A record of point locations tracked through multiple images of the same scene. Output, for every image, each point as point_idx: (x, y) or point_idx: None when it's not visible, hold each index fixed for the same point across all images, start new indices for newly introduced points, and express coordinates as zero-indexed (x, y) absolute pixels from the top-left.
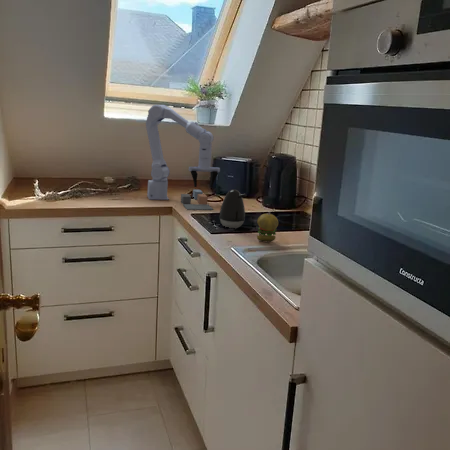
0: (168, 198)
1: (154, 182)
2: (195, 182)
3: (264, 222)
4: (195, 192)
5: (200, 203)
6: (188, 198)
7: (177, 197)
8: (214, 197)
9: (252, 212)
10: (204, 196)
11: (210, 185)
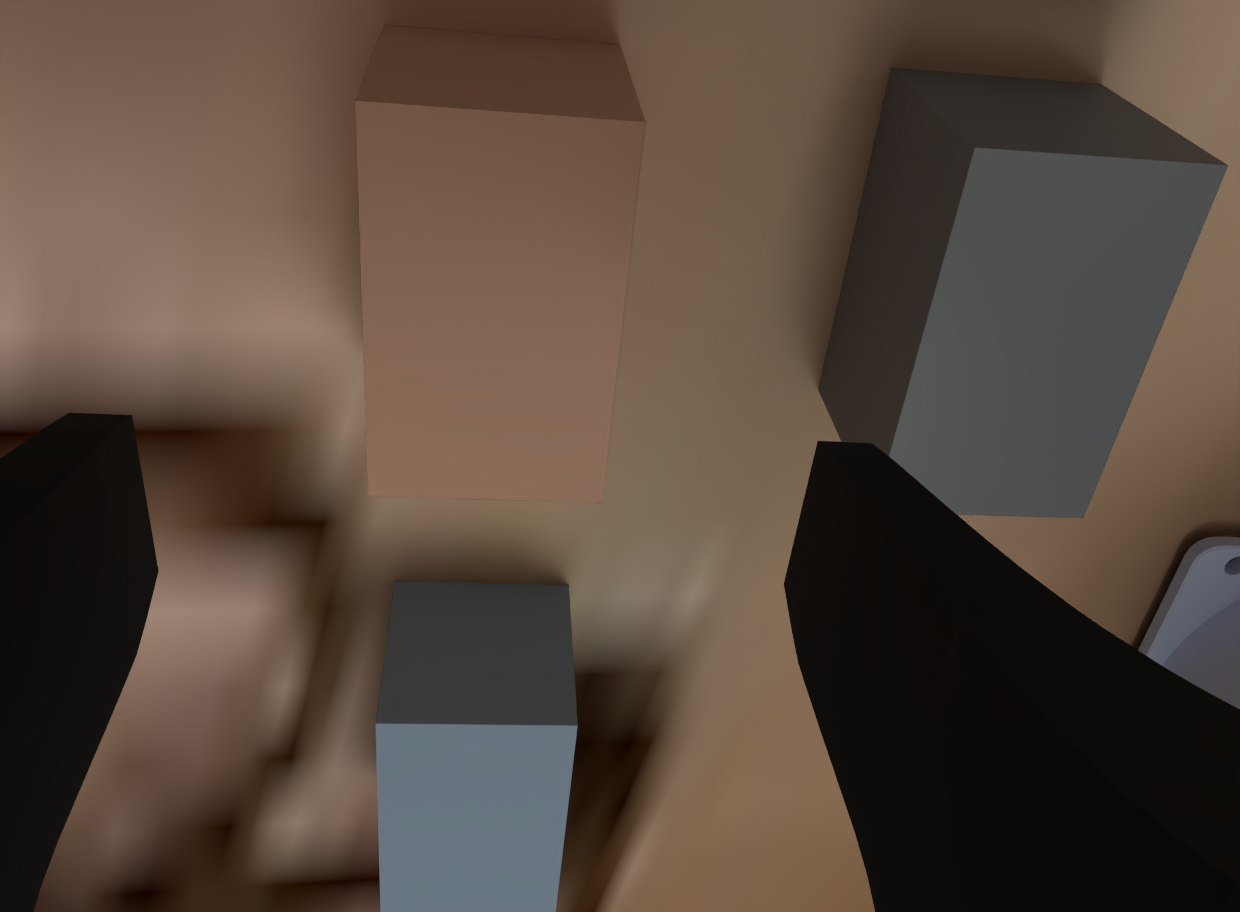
0: (1188, 582)
1: None
2: (960, 541)
3: None
4: (575, 716)
5: (603, 56)
6: (1033, 132)
7: None
8: None
9: None
10: (464, 185)
11: (130, 551)
